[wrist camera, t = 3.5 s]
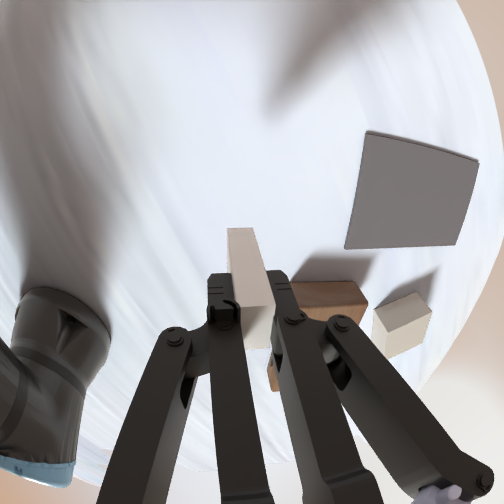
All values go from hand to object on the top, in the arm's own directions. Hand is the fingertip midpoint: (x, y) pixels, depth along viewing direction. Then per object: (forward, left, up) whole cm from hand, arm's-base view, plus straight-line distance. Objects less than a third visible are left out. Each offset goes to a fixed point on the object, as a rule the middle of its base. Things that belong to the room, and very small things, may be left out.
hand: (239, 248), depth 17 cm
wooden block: (+11, -11, -8) cm, 18 cm away
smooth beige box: (+26, -20, -10) cm, 34 cm away
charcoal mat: (+23, 0, -10) cm, 25 cm away
